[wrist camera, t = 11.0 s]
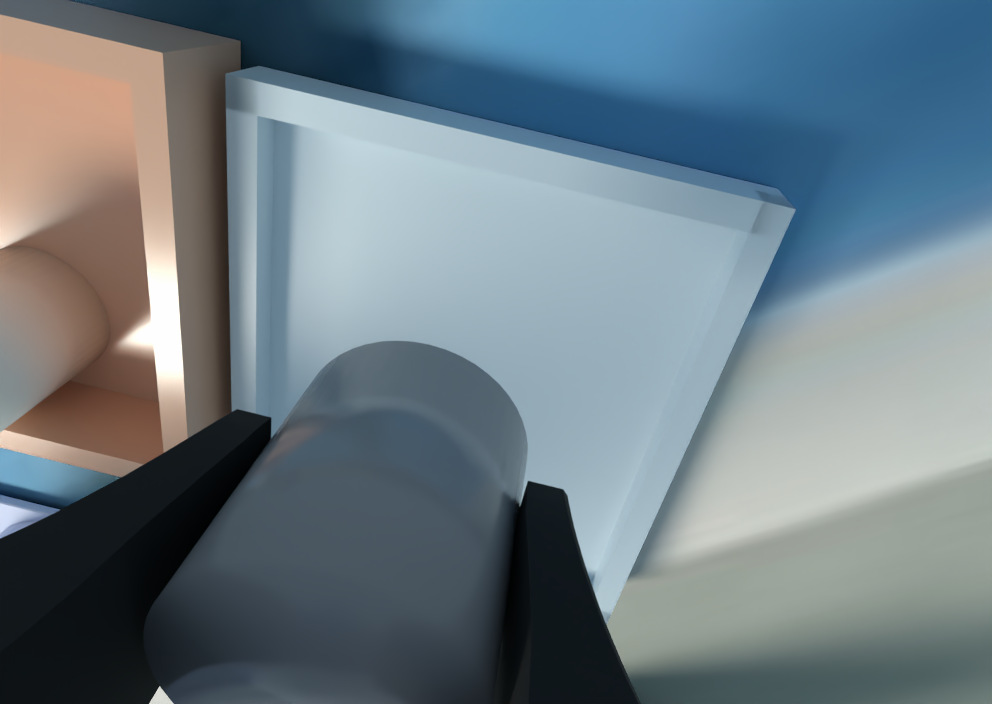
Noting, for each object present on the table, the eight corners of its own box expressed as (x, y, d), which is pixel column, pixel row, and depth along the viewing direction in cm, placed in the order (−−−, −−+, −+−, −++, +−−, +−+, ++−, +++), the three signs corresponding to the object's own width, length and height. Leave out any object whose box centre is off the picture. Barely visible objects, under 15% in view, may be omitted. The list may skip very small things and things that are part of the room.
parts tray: (604, 587, 25) (605, 627, 23) (256, 501, 25) (233, 535, 23) (777, 188, 17) (795, 208, 15) (258, 65, 17) (225, 73, 15)
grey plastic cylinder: (501, 547, 13) (457, 815, 9) (296, 497, 13) (156, 740, 9) (552, 374, 11) (527, 620, 7) (307, 315, 11) (126, 521, 7)
